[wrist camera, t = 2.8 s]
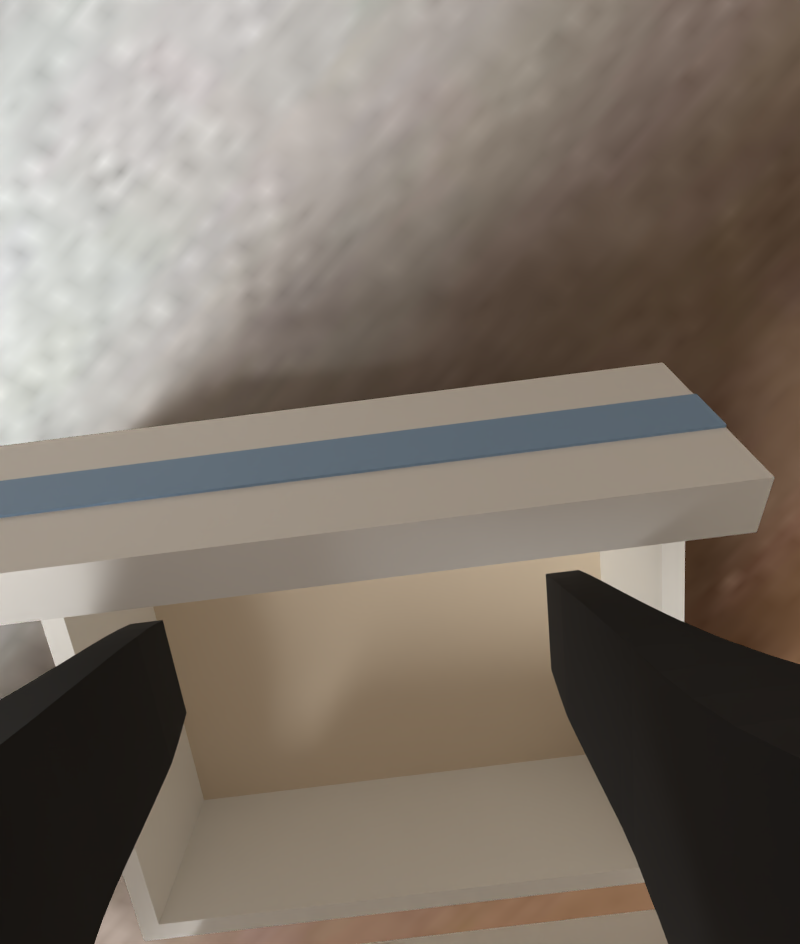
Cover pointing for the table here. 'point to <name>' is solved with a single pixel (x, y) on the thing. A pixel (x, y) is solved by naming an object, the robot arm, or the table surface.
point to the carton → (374, 748)
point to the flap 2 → (561, 932)
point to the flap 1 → (367, 492)
